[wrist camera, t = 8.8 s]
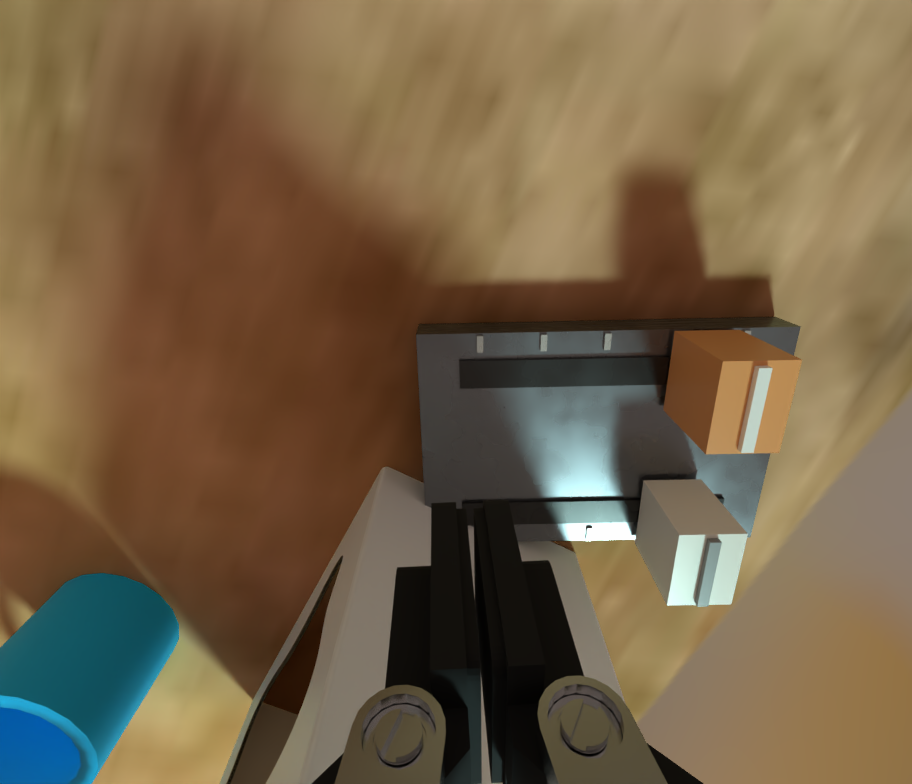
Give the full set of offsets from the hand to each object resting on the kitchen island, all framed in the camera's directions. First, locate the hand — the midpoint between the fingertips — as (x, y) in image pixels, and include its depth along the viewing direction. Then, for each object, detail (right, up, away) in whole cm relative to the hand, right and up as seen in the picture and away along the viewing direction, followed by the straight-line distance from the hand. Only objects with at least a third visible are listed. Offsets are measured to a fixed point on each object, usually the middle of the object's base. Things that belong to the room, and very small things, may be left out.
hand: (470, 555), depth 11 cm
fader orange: (+11, +5, +13) cm, 18 cm away
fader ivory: (+11, -3, +16) cm, 20 cm away
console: (+7, +2, +17) cm, 18 cm away
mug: (-24, -13, +23) cm, 35 cm away
